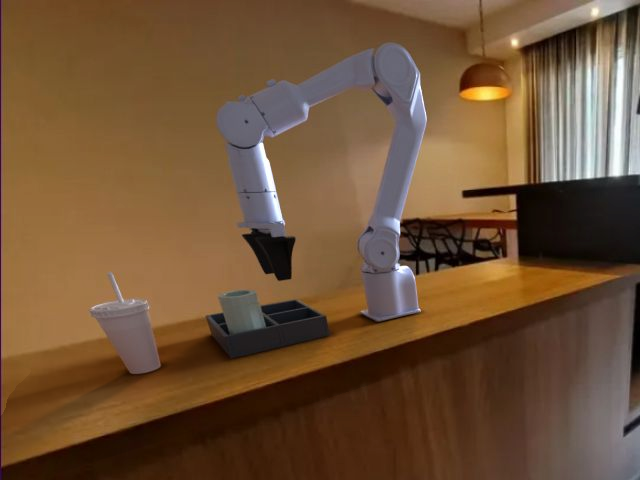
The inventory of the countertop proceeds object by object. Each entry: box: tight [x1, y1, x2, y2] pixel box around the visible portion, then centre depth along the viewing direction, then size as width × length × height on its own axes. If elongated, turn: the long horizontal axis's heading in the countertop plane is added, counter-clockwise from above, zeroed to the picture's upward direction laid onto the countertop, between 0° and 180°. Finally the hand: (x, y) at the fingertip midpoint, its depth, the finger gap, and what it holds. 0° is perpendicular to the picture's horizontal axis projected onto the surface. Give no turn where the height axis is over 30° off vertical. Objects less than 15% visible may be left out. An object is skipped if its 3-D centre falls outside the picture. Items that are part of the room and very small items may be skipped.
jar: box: [217, 289, 266, 335], centre depth 70 cm, size 5×5×8 cm
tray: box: [205, 299, 331, 360], centre depth 76 cm, size 15×15×4 cm
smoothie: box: [88, 271, 162, 375], centre depth 62 cm, size 6×6×14 cm
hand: (277, 276), depth 77 cm, fingers open, 7 cm apart
